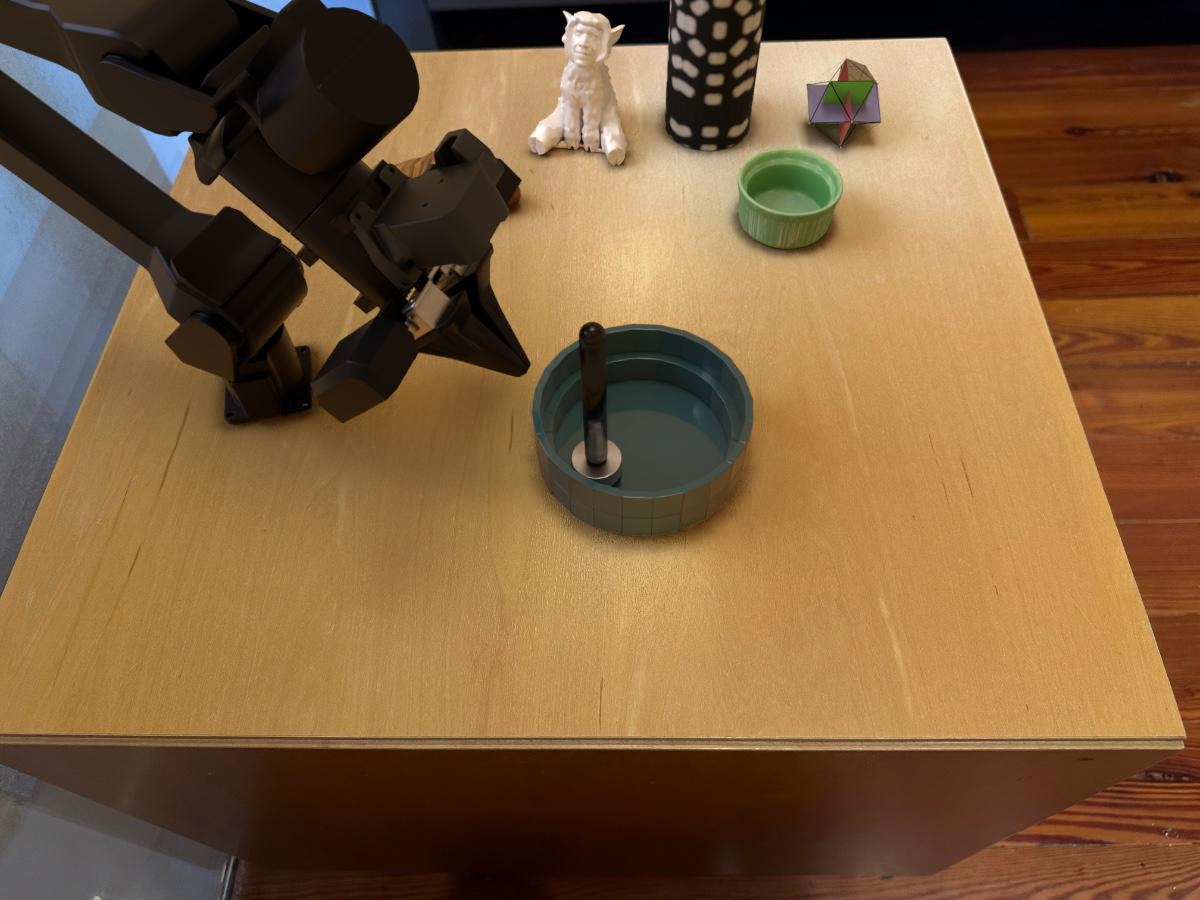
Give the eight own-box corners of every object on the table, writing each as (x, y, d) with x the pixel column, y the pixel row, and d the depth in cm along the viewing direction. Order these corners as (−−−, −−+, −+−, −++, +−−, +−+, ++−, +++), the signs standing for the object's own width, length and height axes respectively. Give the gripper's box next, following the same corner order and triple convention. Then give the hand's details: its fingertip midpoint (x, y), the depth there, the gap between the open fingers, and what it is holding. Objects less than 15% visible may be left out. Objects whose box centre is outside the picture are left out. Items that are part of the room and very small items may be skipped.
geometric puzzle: (887, 147, 84) (895, 53, 82) (812, 148, 84) (818, 53, 82) (866, 148, 91) (873, 61, 89) (797, 148, 91) (802, 61, 89)
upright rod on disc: (602, 440, 67) (598, 294, 55) (632, 472, 65) (635, 330, 53) (561, 464, 66) (548, 321, 53) (591, 498, 64) (584, 358, 52)
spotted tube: (752, 151, 88) (782, -66, 71) (665, 151, 88) (675, -65, 72) (746, 99, 92) (773, -115, 76) (663, 99, 93) (673, -115, 76)
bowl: (523, 389, 71) (517, 341, 67) (713, 358, 73) (719, 309, 68) (556, 558, 63) (552, 516, 58) (771, 519, 64) (782, 475, 60)
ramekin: (774, 174, 86) (781, 134, 82) (854, 218, 82) (865, 178, 78) (712, 221, 82) (716, 181, 78) (792, 270, 78) (801, 230, 75)
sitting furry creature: (526, 155, 88) (515, 37, 78) (549, 103, 93) (541, -15, 83) (623, 168, 86) (624, 50, 77) (641, 114, 91) (644, -4, 81)
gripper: (302, 250, 40) (552, 459, 47) (472, 25, 50) (658, 224, 57) (210, 331, 48) (436, 500, 55) (373, 123, 58) (547, 287, 65)
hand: (524, 371), depth 58 cm, fingers closed
